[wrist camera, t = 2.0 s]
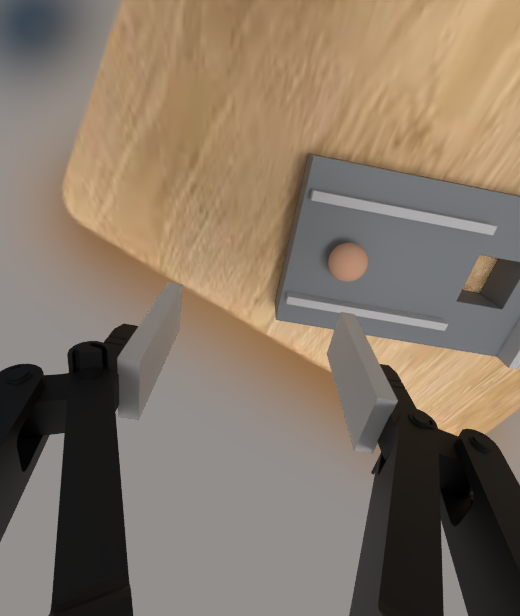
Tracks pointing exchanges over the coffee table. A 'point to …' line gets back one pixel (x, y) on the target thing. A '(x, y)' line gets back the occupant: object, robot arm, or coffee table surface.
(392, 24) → the coffee table surface
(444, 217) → the plate
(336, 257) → the ball
